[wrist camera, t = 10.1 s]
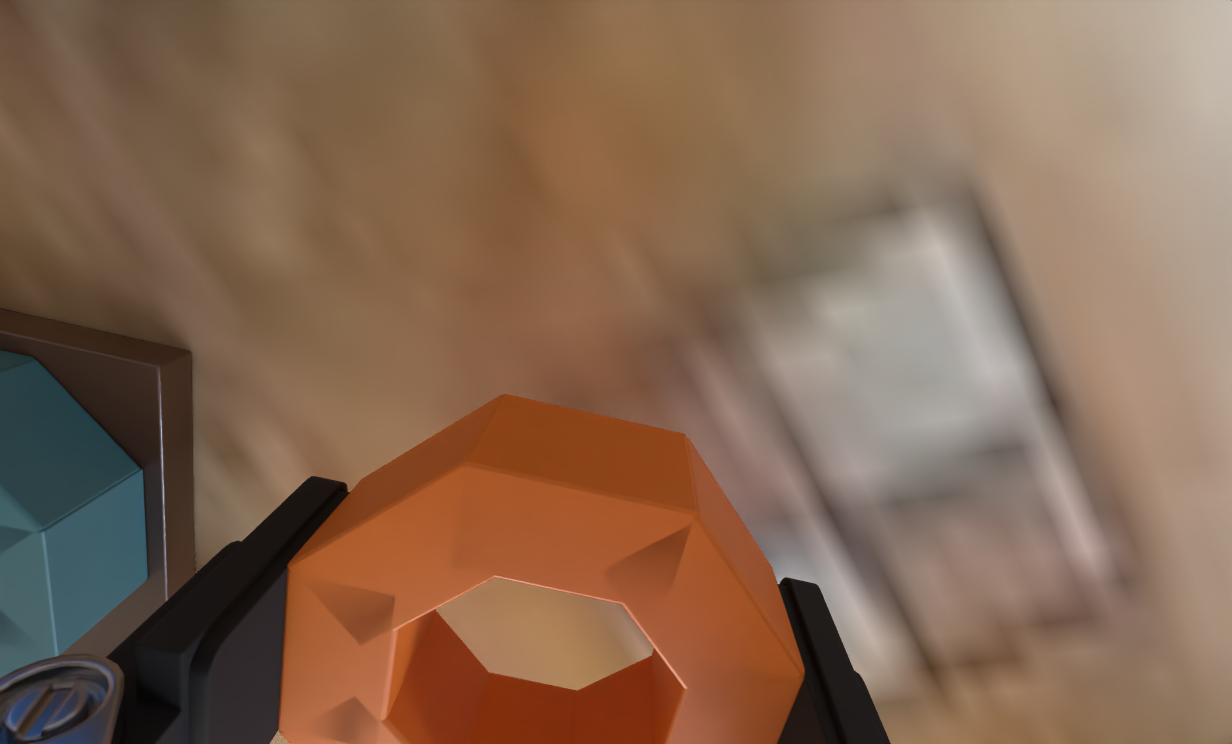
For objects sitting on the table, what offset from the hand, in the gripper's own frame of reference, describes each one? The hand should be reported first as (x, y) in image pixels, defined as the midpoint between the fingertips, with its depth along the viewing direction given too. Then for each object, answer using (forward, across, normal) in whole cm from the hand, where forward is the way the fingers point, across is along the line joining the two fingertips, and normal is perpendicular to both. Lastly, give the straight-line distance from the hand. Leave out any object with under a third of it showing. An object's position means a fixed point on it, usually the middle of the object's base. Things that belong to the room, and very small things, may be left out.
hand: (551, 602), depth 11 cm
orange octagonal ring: (0, 0, 0) cm, 0 cm away
